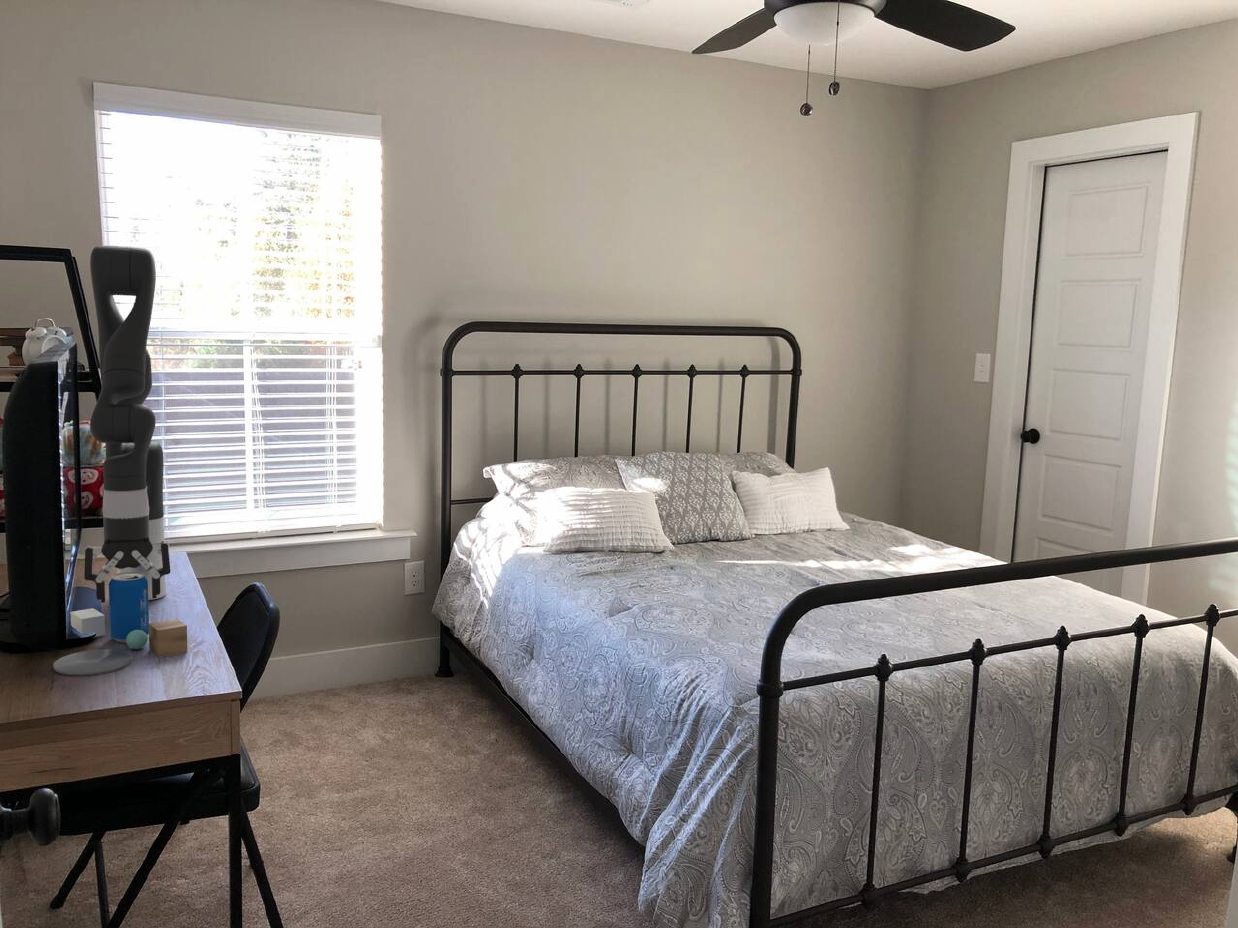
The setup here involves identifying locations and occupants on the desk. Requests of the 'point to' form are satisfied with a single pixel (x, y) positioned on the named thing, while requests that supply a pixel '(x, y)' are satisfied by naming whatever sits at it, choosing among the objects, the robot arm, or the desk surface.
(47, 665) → the desk surface
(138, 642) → the teal ball
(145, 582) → the beverage can
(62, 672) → the coaster
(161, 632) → the walnut cube
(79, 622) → the white block
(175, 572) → the desk surface
